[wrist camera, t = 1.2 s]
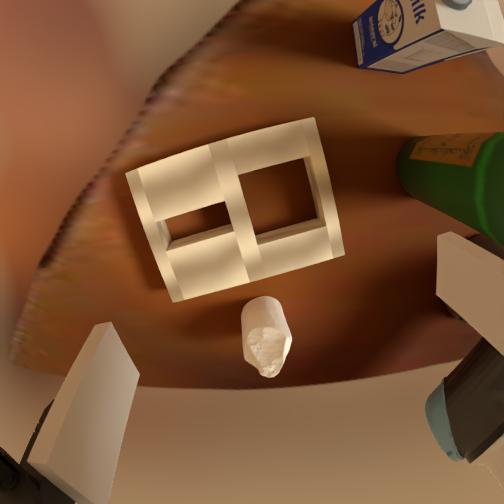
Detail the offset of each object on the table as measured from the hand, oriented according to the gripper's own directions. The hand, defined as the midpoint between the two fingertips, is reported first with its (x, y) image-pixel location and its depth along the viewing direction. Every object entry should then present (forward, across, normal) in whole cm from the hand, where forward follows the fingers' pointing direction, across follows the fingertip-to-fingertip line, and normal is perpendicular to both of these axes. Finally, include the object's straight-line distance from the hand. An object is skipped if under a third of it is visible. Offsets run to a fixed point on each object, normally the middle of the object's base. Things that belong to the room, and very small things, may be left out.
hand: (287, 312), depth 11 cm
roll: (+27, +2, +17) cm, 32 cm away
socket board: (+27, +1, +2) cm, 27 cm away
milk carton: (+27, -22, -15) cm, 38 cm away
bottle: (+27, -24, +2) cm, 36 cm away
